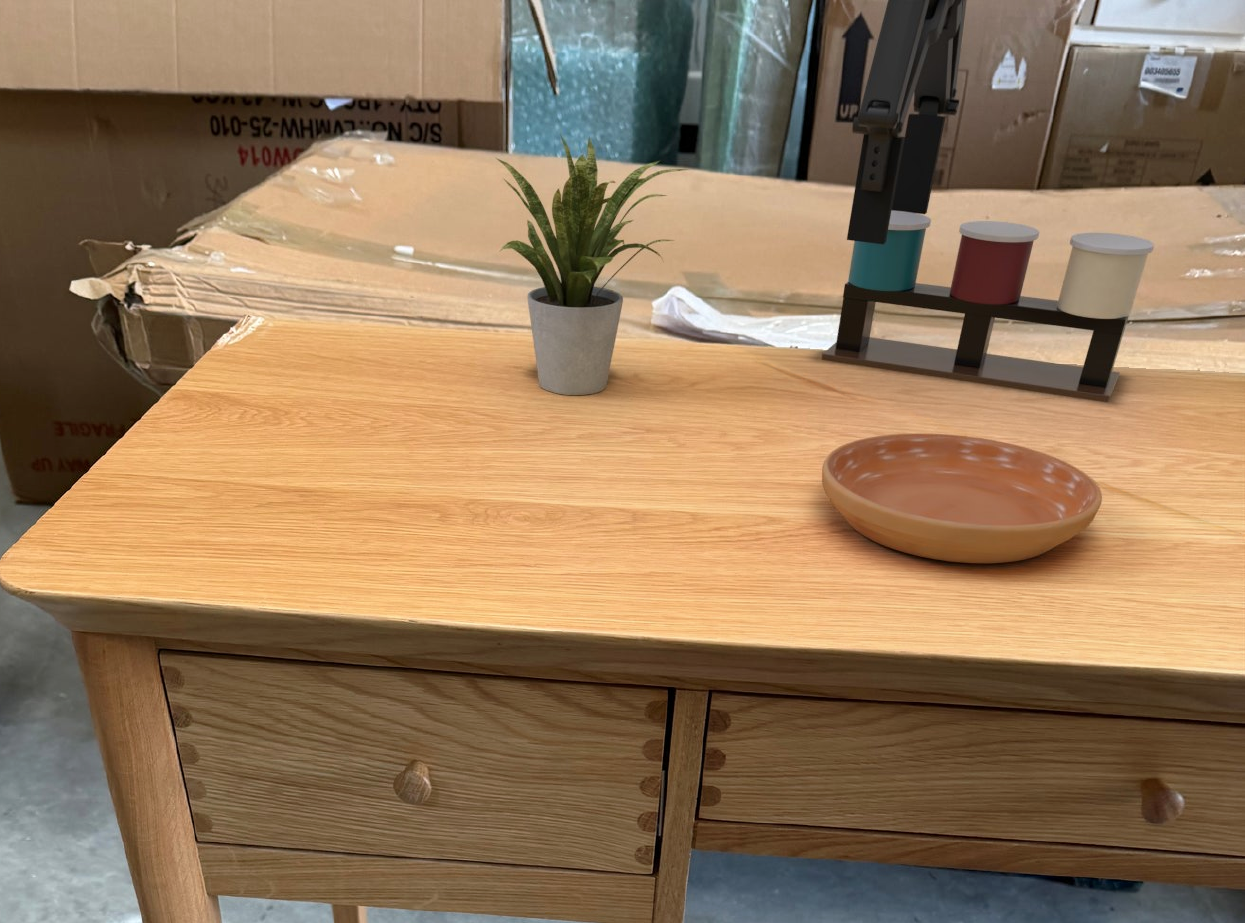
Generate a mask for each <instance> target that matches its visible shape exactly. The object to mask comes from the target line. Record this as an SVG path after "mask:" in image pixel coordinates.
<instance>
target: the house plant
mask: <svg viewBox="0 0 1245 923" xmlns="http://www.w3.org/2000/svg"><path fill="white" fill-rule="evenodd" d="M559 135H560V138H561V141H562V144H563V148H564V152H565V156H566V161H567V167H568V175H569V178H568V179H567V180H566V181H565V183H564V185H563V189H562V193H561V191H560V188H558V189H556V191H555V193H554V195H553V198H552V202H551V203H552V204H551V215H552V220H553V224H554V230H553V228H552V225H551V222H550V219H549V216H548V214H547V211H546V209H545V207H544V205H543V203H542V201H541V199H540V198H539V195H538V194H537V192H536V190H535V189H534V187H533V186H532V184H531V183H530V182H529V181H528V180H527V179H526V177H525V176H523V175H522V173H520V172H519V171H518V170H517V169H515V167H513V166H512V165H511V164H509V162H507V161H505V160H502V159H500V158H497V157H495V159H496V160H497V161H498V162H500V163H501V164H502V165H503V166H504V167H505V168H506V169H507V170H508V172H509V173H510V174H511V175H512V177H513V178H514V180H515V181H516V183H517V185H518V187H519V188H520V190H521V192H522V193H523V195H524V197H523V196H522V194H521V193H520V191H519V190H518V189H517V188H516V187H515V186H514V185H512V184H511V183H510V182H509V181H508V180H506V179H505V178H503V181H505V183H506V184H507V185H508V187H510V188H511V189H512V190H513V191H514V192H515V193H516V195H517V196H518V197H519V198H520V200H521V202H522V203H523V205H524V206H525V208H526V209H527V210H528V211H529V213H530V214H531V216H532V217H533V219H534V220H535V222H536V224H537V226H538V228H539V229H540V232H541V234H542V236H543V239H544V240H545V243H546V245H547V248H548V250H549V252H550V254H551V257H552V258H553V260H554V263H555V265H556V267H557V270H558V273H559V276H558V275H557V271H556V269H555V266H554V263H553V261H552V260H551V257H550V256H549V254H548V252H547V250H546V248H545V247H544V244H543V241H542V240H541V238H540V237H539V235H538V233H537V231H536V228H535V226H534V224H533V222H532V221H530V220H528V219H527V220H526V221H527V223H526V225H527V238H528V240H529V243H530V244H531V245H529V244H527V243H526V242H523V241H520V240H510V241H508V242H506V244H504V245H503V246H502V247H501V249H500V250H499V252H502V251H503V250H509V249H510V250H511V249H512V250H514V251H515V252H516V253H518V254H519V255H521V256H522V257H523V258H524V259H525V260H526V261H528V263H530V264H531V265H532V266H533V267H534V268H535V270H536V272H537V273H538V275H539V277H540V278H541V281H542V283H543V287H537V288H535V289H532V290H531V291H529V292H528V293H527V306H528V311H529V319H530V326H531V333H532V334H531V335H532V342H533V350H534V356H535V363H536V370H537V377H538V385H539V387H540V388H541V389H543V390H545V391H548V392H551V393H554V394H558V395H566V396H586V395H593V394H597V393H600V392H602V391H604V390H605V389H606V388H607V385H608V379H609V375H610V369H611V364H612V359H613V353H614V348H615V345H616V344H615V343H616V339H617V333H618V329H619V323H620V320H621V319H620V318H621V315H622V314H621V313H622V308H623V303H624V296H623V295H622V294H621V293H619V292H617V291H615V290H613V289H609V288H605V287H606V285H608V283H609V282H610V281H611V280H612V279H613V278H614V277H615V276H616V275H617V274H618V273H619V272H620V271H621V270H622V269H623V268H624V267H625V266H626V265H627V264H628V263H629V262H630V261H632V259H633V258H634V257H635V256H636V255H638V254H639V253H640V252H642V251H643V250H644V249H645V250H647V251H651V252H652V253H654V254H656V255H658V257H660V258H661V260H662V262H663V263H664V258H663V257H662V256H661V255H660V254H659V252H658V251H656V250H654V249H653V248H651V247H650V246H651V245H652V244H655V243H658V242H659V243H661V242H672V241H674V239H664V238H663V239H657V240H653V241H651V242H649V243H646V244H642V243H635V242H634V243H627V244H625V240H624V239H618V238H616V237H617V236H618V234H619V233H620V232H621V230H622V229H623V228H624V227H625V225H628V224H630V223H632V222H634V219H632V220H626V221H625V220H624V219H625V218H626V217H627V215H628V214H629V212H630V211H631V210H632V209H634V208H635V207H636V206H637V205H638V204H640V203H641V202H643V201H644V200H646V199H649V198H655V197H668V195H666V194H660V193H659V194H658V193H654V194H653V193H652V194H649V195H648V194H647V195H645V196H643V197H640V198H639V199H638V200H637V201H635V203H633V204H632V205H631V206H630V207H629V208H628V210H627V211H626V212H625V214H624V215H623V217H622V218H621V220H620V221H619V222H618V223H617V224H616V225H614V226H613V224H614V223H615V220H616V218H617V216H618V215H619V212H621V209H622V207H623V206H624V205H625V204H626V202H627V201H628V200H629V198H630V197H631V196H632V195H633V194H634V193H635V192H636V191H637V190H638V189H639V188H640V187H642V186H643V185H645V184H646V183H647V182H648V181H650V180H652V179H654V178H655V177H657V176H660V175H662V174H666V173H672V172H681V171H689V170H690V169H689V168H688V169H687V168H669V169H662V170H659V171H656V172H654V173H651V174H649V175H647V176H646V177H644V178H641V177H642V175H643V174H644V173H645V172H646V171H647V170H648V169H649V168H651V167H654V166H655V165H657V164H658V163H659V162H660V160H656V161H653V162H650V163H647V164H644V165H642V166H640V167H638V168H636V169H634V171H632V172H631V173H630V174H628V176H626V178H624V180H623V181H622V182H621V183H620V184H619V185H618V186H617V188H616V189H615V191H613V193H612V194H611V196H610V197H607V198H605V194H606V191H607V188H608V186H609V184H616V181H614V180H610V181H608V182H602V183H599V184H598V173H599V172H598V171H599V170H598V165H597V158H596V152H595V147H594V145H593V142H592V140H591V137H590V135H589V136H588V138H587V149H586V157H585V155H584V153H583V154H581V155H580V156H579V157H578V158H577V160H576V162H575V163H574V161H573V158H572V155H571V151H570V149H569V147H568V146H569V145H568V144H567V142H566V140H565V139H564V137H563V136H562V135H561V134H559ZM525 199H526V200H525ZM604 204H605V205H604ZM603 206H604V208H603ZM602 209H603V211H602ZM601 211H602V212H601ZM600 214H601V215H600ZM599 216H600V217H599ZM598 218H599V219H598ZM623 220H624V221H623ZM554 231H555V232H554ZM621 243H622V245H621V246H619V245H620V244H621ZM617 246H618V247H617ZM636 248H637V249H638V248H640V249H639V250H637V251H636V253H634V254H633V255H632V256H631V257H630V258H628V260H627V261H625V263H624V264H623V265H622V266H620V268H619V269H618V270H617V271H615V273H614V274H613V275H612V276H611V277H610V278H609V279H608V280H607V281H606V282H605V284H604V285H602V287H599V286H595V284H596V282H597V280H598V278H599V277H600V275H601V273H602V271H603V270H604V268H605V266H606V265H607V264H609V263H611V262H612V260H613V259H614V257H616V256H617V255H618V254H619V253H622V252H624V251H626V250H627V249H636ZM559 277H560V278H559Z"/></svg>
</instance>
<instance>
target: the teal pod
mask: <svg viewBox="0 0 1245 923" xmlns="http://www.w3.org/2000/svg"><path fill="white" fill-rule="evenodd" d="M931 222H932V219H931V218H930V217H929V216H927V215H925V214H918V213H911V212H904V211H893V210H892V211H891V216H890V222H889V227H888V233H887V238H886V243H885V244H876V243H868V242H860V241H853V248H852V252H851V259H850V266H849V273H848V280H847V282H848V281H849V283H850V284H852V285H854V286H857V287H860V288H864V289H870V290H878V291H903V290H909V289H912V288H914V287H915V284H916V283H917V279H918V273H919V267H920V262H921V257H922V251H923V247H924V241H925V236H926V231H927V229H928V228H930V227H931Z"/></svg>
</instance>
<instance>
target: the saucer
mask: <svg viewBox="0 0 1245 923" xmlns="http://www.w3.org/2000/svg"><path fill="white" fill-rule="evenodd" d="M821 468H822V469H821V484H822V489H823V491H824V493H825V495H826V496H827V497H828V498H829V500H830V502H831V504H832V505H833V507H834V508H835V509H836V510H837V512H839V513H840V514H841V516H842V517H843V519H844V520H845V521H846V522H847V524H848V525H849V526H850V527H851V528H853V529H854V530H855V531H856V532H858V533H859V534H860V535H862V536H863V537H865V538H867V539H869V540H870V541H873V542H875V543H877V544H879V545H881V546H883V547H886V548H890V549H892V550H895V551H898V552H902V553H905V554H909V555H912V556H917V557H922V558H927V559H932V560H938V561H945V562H951V563H963V564H1003V563H1011V562H1018V561H1019V562H1020V561H1023V560H1028V559H1032V558H1035V557H1038V556H1041V555H1042V554H1045V553H1047V552H1048V551H1051V550H1052V549H1054V548H1055V547H1058V545H1061V544H1063V543H1066V542H1068V541H1069V540H1071V539H1072V538H1073V537H1075V536H1076V535H1077V534H1080V533H1081V532H1083V531H1084V530H1086V529H1087V528H1088V527H1089V526H1090V525H1091V524H1092V523H1093V521H1094V519H1095V517H1096V515H1097V514H1098V511H1099V510H1100V508H1101V505H1102V501H1103V495H1102V490H1101V489H1100V487H1099V485H1098V484H1097V483H1096V481H1094V479H1093V478H1092V477H1091V476H1089V475H1088V474H1087V473H1086V472H1085V471H1083V470H1081V469H1079V468H1077V467H1076V466H1074V465H1072V464H1070V463H1069V462H1066V461H1064V460H1062V459H1060V458H1057V457H1056V456H1053V455H1050V454H1047V453H1045V452H1041V451H1039V450H1036V449H1032V448H1029V447H1026V446H1023V445H1018V444H1013V443H1009V442H1004V441H1000V440H996V439H989V438H982V437H977V436H976V437H975V436H967V435H966V436H965V435H960V434H959V435H958V434H949V433H948V434H947V433H921V432H919V433H918V432H917V433H916V432H915V433H896V434H895V433H894V434H883V435H876V436H870V437H865V438H861V439H857V440H853V441H850V442H848V443H844V444H842V445H840V446H839V447H836V448H835V449H834V450H832V451H831V452H830V453H829V454H828V455H827V456H826V457H825V459H824V461H823V464H822V467H821Z"/></svg>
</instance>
